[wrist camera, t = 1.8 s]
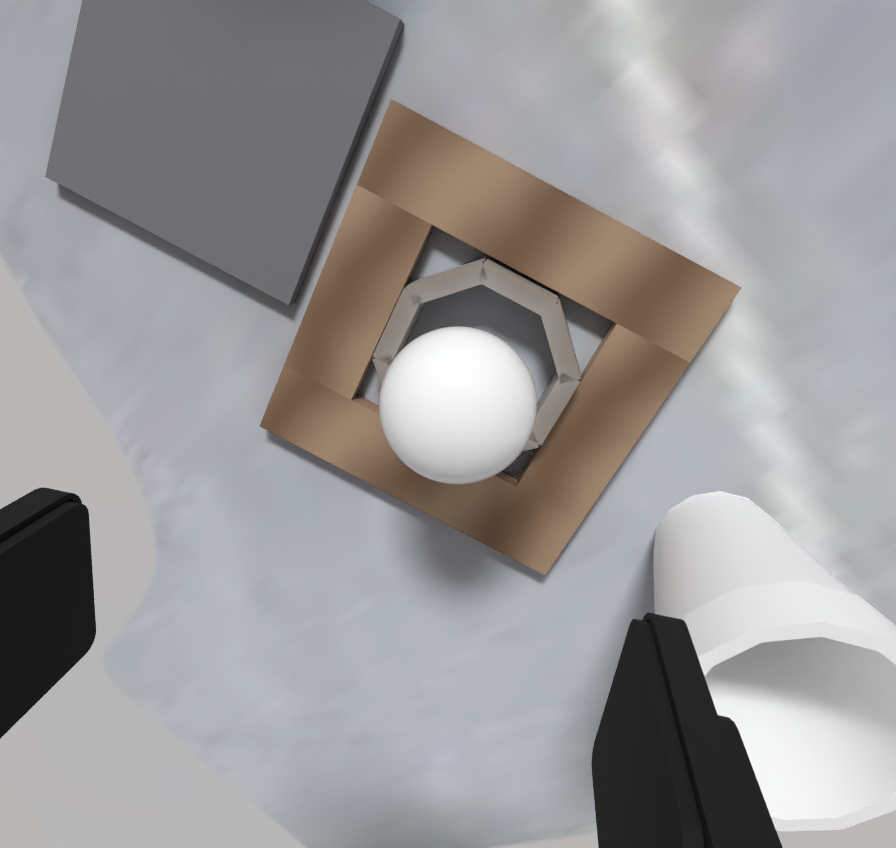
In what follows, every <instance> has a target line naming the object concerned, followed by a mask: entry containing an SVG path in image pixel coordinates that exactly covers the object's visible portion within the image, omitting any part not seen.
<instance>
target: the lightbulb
mask: <svg viewBox="0 0 896 848" xmlns="http://www.w3.org/2000/svg"><path fill="white" fill-rule="evenodd" d="M536 414H537V397H536V390H535V386H534V382H533V379H532V376H531V374H530V372H529V370H528V368H527V366H526V364H525V363H524V361H523V360H522V358H521V357H520V356H519V355H518V353H517V352H516V351H515V350H514V349H513V348H512V347H511V346H510V345H508V344H507V343H506V342H505V341H503V340H502V339H500V338H499V337H497V336H495V335H493V334H491V333H489V332H486V331H483V330H480V329H477V328H472V327H464V326H452V327H444V328H439V329H436V330H433V331H430V332H427V333H425V334H423V335H421V336H419V337H417V338H416V339H414V340H413V341H411V342H410V343H409V344H408V345H406V346H405V347H404V348H403V349H402V350H401V351H400V352H399V353H398V354H397V356H396V357H395V358H394V360H393V361H392V363H391V364H390V366H389V368H388V370H387V372H386V374H385V376H384V379H383V382H382V385H381V389H380V395H379V416H380V422H381V426H382V429H383V432H384V435H385V437H386V439H387V441H388V443H389V445H390V447H391V448H392V450H393V451H394V453H395V454H396V455H397V456H398V458H399V459H400V460H401V461H402V462H403V463H404V464H405V465H407V466H408V467H409V468H410V469H412V470H413V471H415V472H416V473H418V474H419V475H421V476H423V477H425V478H428V479H430V480H433V481H436V482H440V483H445V484H457V485H459V484H470V483H476V482H479V481H483V480H485V479H488V478H490V477H492V476H494V475H496V474H498V473H500V472H501V471H503V470H504V469H505V468H507V467H508V466H509V465H510V464H511V463H512V462H513V461H514V460H515V459H516V458H517V457H518V456H519V455H520V454H521V452H522V451H523V449H524V448H525V446H526V445H527V443H528V441H529V439H530V437H531V434H532V432H533V429H534V425H535V421H536Z"/></svg>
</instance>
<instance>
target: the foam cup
mask: <svg viewBox="0 0 896 848" xmlns="http://www.w3.org/2000/svg"><path fill="white" fill-rule="evenodd" d="M653 553H654V555H653V570H654V603H655V614H658V615H663V616H668V617H672V618H677V619H682V620H684V621H685V623H686V625H687V627H688V630H689V633H690V636H691V639H692V642H693V645H694V647H695V650H696V653H697V656H698V659H699V662H700V665H701V668H702V671H703V674H704V677H705V680H706V682H707V685H708V688H709V691H710V694H711V697H712V700H713V703H714V706H715V709H716V712H717V715H720V716H724V717H729V718H730V719H731V720H732V721H734V722H735V724H736V726H737V728H738V730H739V733H740V735H741V738H742V741H743V743H744V746H745V749H746V751H747V754H748V757H749V759H750V762H751V765H752V767H753V770H754V773H755V776H756V778H757V781H758V784H759V786H760V789H761V792H762V794H763V797H764V800H765V802H766V805H767V808H768V810H769V813H770V816H771V818H772V821H773V824H774V826H775V829H776V830H777V831H780V832H781V831H812V830H842V829H845V828H848V827H850V826H853V825H856V824H858V823H861V822H864V821H867V820H869V819H872V818H875V817H878V816H881V815H883V814H886V813H889V812H892V811H894V810H896V625H894V624H893V623H892V622H891V621H889V620H888V619H887V618H886V617H884V616H883V615H882V614H881V613H879V612H878V611H877V610H876V609H874V608H873V607H872V606H871V605H869V604H868V603H867V602H866V601H864V600H863V599H862V598H861V597H859V596H858V595H855V594H854V593H853V592H852V591H851V590H849V589H848V588H847V587H846V586H845V585H844V584H843V583H842V582H841V581H840V580H839V579H838V578H836V577H835V576H834V575H833V574H832V573H831V572H830V571H829V570H828V569H827V568H826V567H825V566H824V565H822V564H821V563H820V562H819V561H818V560H817V559H816V558H815V557H814V556H813V555H812V554H811V553H809V552H808V551H807V550H806V549H805V548H804V547H803V546H802V545H801V544H800V543H799V542H798V541H797V540H795V539H794V538H793V537H792V536H791V535H790V534H789V533H788V532H787V531H786V530H785V529H784V528H783V527H781V526H780V525H779V524H778V523H777V522H776V521H775V520H774V519H773V518H772V517H770V516H769V515H768V514H767V513H766V512H764V511H763V510H762V509H761V508H759V507H758V506H757V505H756V504H754V503H753V502H752V501H751V500H749V499H748V498H746V497H742V496H738V495H734V494H730V493H726V492H722V491H718V492H712V493H705V494H698V495H692V496H691V497H689V498H687V499H686V500H684V501H682V502H680V503H679V504H677V505H675V506H674V507H672V508H670V509H669V510H668V512H667V513H666V515H665V516H664V518H663V519H662V521H661V522H660V523H659V525H658V526H657V528H656V529H655V539H654V549H653Z"/></svg>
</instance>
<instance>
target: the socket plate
mask: <svg viewBox="0 0 896 848" xmlns="http://www.w3.org/2000/svg"><path fill="white" fill-rule="evenodd" d="M434 226H435V227H437V228H439V229H441V230H443V231H445V232H447V233H448V234H450V235H452V236H454V237H456V238H458V239H460V240H462V241H463V242H465V243H467V244H469V245H471V246H473V247H475V248H477V249H478V250H480V251H482V252H484V253H486V254H488V255H490V256H491V257H493V258H495V259H497V260H499V261H501V262H503V263H505V264H506V265H508V266H510V267H512V268H514V269H516V270H518V271H520V272H521V273H523V274H525V275H527V276H529V277H531V278H533V279H534V280H536V281H538V282H540V283H542V284H544V285H546V286H548V287H549V288H551V289H553V290H555V291H557V292H559V293H561V294H563V295H564V296H566V297H568V298H570V299H572V300H574V301H576V302H578V303H579V304H581V305H583V306H585V307H587V308H589V309H591V310H592V311H594V312H596V313H598V314H600V315H602V316H604V317H606V318H607V319H609V320H611V321H613V324H612V325H611V327H610V329H609V330H608V332H607V334H606V335H605V337H604V339H603V340H602V342H601V343H600V345H599V347H598V348H597V350H596V352H595V353H594V355H593V356H592V358H591V360H590V361H589V363H588V365H587V366H586V368H585V370H584V371H583V373H582V374H581V376H580V369H579V365H578V362H577V358H576V354H575V351H574V347H573V343H572V340H571V336H570V332H569V329H568V325H567V322H566V318H565V314H564V311H563V307H562V303H561V300H560V296H559V297H558V294H557V293H555V292H553V291H551V290H550V289H548V288H546V287H544V286H542V285H540V284H538V283H536V282H535V281H533V280H531V279H529V278H527V277H525V276H523V275H522V274H520V273H518V272H516V271H514V270H512V269H510V268H508V267H507V266H505V265H503V264H501V263H499V262H497V261H495V260H493V259H492V258H490V257H489V258H488V259H487V258H486V257H485V258H482V259H479V260H476V261H473V262H470V263H467V264H464V265H461V266H458V267H455V268H452V269H449V270H446V271H443V272H440V273H437V274H434V275H431V276H427V277H424V278H421V279H418V280H415V281H413V282H412V283H410V284H409V285H407V284H408V282H409V280H410V278H411V276H412V273H413V271H414V269H415V267H416V265H417V263H418V260H419V258H420V256H421V254H422V252H423V250H424V247H425V245H426V243H427V241H428V239H429V237H430V234H431V232H432V230H433V228H434ZM481 284H482V285H484V286H486V287H488V288H490V289H492V290H494V291H496V292H497V293H499V294H501V295H503V296H505V297H507V298H509V299H511V300H512V301H514V302H516V303H518V304H520V305H522V306H524V307H526V308H527V309H529V310H531V311H533V312H535V313H537V314H539V315H541V318H542V321H543V325H544V328H545V332H546V335H547V339H548V342H549V346H550V349H551V353H552V356H553V360H554V363H555V367H556V370H557V371H556V372H555V374H554V376H553V378H552V379H551V381H550V383H549V384H548V386H547V388H546V389H545V391H544V393H543V394H542V396H541V398H540V399H539V401H538V403H537V414H536V421H535V425H534V429H533V432H532V434H531V437H530V439H529V441H528V443H527V445H526V446H525V448H524V449H523V451H526V450H530V449H534V448H536V450H535V451H534V453H533V454H532V456H531V458H530V459H529V461H528V463H527V464H526V466H525V467H524V469H523V471H522V472H521V474H520V476H519V477H518V479H516V478H514V477H512V476H510V475H509V474H507V473H505V472H503V471H501V472H500V473H498V474H496V475H494V476H492V477H490V478H488V479H485V480H483V481H479V482H476V483H470V484H459V485H457V484H445V483H440V482H436V481H433V480H430V479H428V478H425V477H423V476H421V475H419V474H418V473H416V472H415V471H413V470H412V469H410V468H409V467H408V466H407V465H405V464H404V463H403V462H402V461H401V460H400V459H399V458H398V456H397V455H396V454H395V453H394V451H393V450H392V448H391V447H390V445H389V443H388V441H387V439H386V437H385V435H384V432H383V429H382V426H381V422H380V416H379V406H377V405H376V404H374V403H372V402H370V401H368V400H366V399H364V398H362V397H360V396H358V395H357V392H358V390H359V388H360V386H361V384H362V381H363V379H364V377H365V375H366V373H367V371H368V369H369V366H370V364H371V362H372V360H373V363H374V365H375V368H376V371H377V373H378V376H379V379H380V382H381V384H382V382H383V379H384V376H385V374H386V372H387V370H388V368H389V366H390V364H391V363H392V361H393V360H394V358H395V357H396V356H397V354H398V353H399V352H400V351H401V350H402V349H403V347H404V345H405V343H406V341H407V339H408V337H409V335H410V333H411V330H412V328H413V326H414V324H415V322H416V320H417V318H418V316H419V314H420V312H421V310H422V308H423V305H424V303H425V302H427V301H431V300H434V299H437V298H440V297H443V296H446V295H449V294H452V293H456V292H459V291H462V290H465V289H468V288H471V287H474V286H477V285H481ZM740 289H741V287H739V286H737V285H735V284H733V283H732V282H730V281H728V280H726V279H724V278H722V277H720V276H719V275H717V274H715V273H713V272H711V271H709V270H707V269H706V268H704V267H702V266H700V265H698V264H696V263H694V262H693V261H691V260H689V259H687V258H685V257H683V256H681V255H680V254H678V253H676V252H674V251H672V250H670V249H668V248H667V247H665V246H663V245H661V244H659V243H657V242H655V241H654V240H652V239H650V238H648V237H646V236H644V235H642V234H641V233H639V232H637V231H635V230H633V229H631V228H629V227H628V226H626V225H624V224H622V223H620V222H618V221H616V220H615V219H613V218H611V217H609V216H607V215H605V214H603V213H602V212H600V211H598V210H596V209H594V208H592V207H590V206H589V205H587V204H585V203H583V202H581V201H579V200H577V199H576V198H574V197H572V196H570V195H568V194H566V193H564V192H563V191H561V190H559V189H557V188H555V187H553V186H551V185H550V184H548V183H546V182H544V181H542V180H540V179H538V178H537V177H535V176H533V175H531V174H529V173H527V172H525V171H524V170H522V169H520V168H518V167H516V166H514V165H513V164H511V163H509V162H507V161H505V160H503V159H501V158H500V157H498V156H496V155H494V154H492V153H490V152H488V151H487V150H485V149H483V148H481V147H479V146H477V145H475V144H474V143H472V142H470V141H468V140H466V139H464V138H462V137H461V136H459V135H457V134H455V133H453V132H451V131H449V130H448V129H446V128H444V127H442V126H440V125H438V124H436V123H435V122H433V121H431V120H429V119H427V118H425V117H423V116H422V115H420V114H418V113H416V112H414V111H412V110H410V109H409V108H407V107H405V106H403V105H401V104H399V103H397V102H396V101H394V100H392V99H391V101H390V104H389V106H388V109H387V111H386V114H385V116H384V119H383V121H382V124H381V126H380V129H379V131H378V134H377V136H376V139H375V141H374V144H373V146H372V149H371V151H370V154H369V156H368V159H367V161H366V163H365V166H364V168H363V171H362V173H361V176H360V178H359V181H358V183H357V186H356V188H355V191H354V193H353V196H352V198H351V201H350V203H349V206H348V208H347V211H346V213H345V216H344V218H343V221H342V223H341V225H340V228H339V230H338V233H337V235H336V238H335V240H334V243H333V245H332V248H331V250H330V253H329V255H328V258H327V260H326V263H325V265H324V268H323V270H322V273H321V275H320V278H319V280H318V283H317V285H316V288H315V290H314V292H313V295H312V297H311V300H310V302H309V305H308V307H307V310H306V312H305V315H304V317H303V320H302V322H301V325H300V327H299V330H298V332H297V335H296V337H295V340H294V342H293V345H292V347H291V350H290V352H289V354H288V357H287V359H286V362H285V364H284V367H283V369H282V372H281V374H280V377H279V379H278V382H277V384H276V387H275V389H274V392H273V394H272V397H271V399H270V402H269V404H268V407H267V409H266V412H265V414H264V417H263V419H262V421H261V424H260V427H262V428H264V429H266V430H268V431H270V432H272V433H273V434H275V435H277V436H279V437H281V438H283V439H285V440H287V441H289V442H291V443H293V444H294V445H296V446H298V447H300V448H302V449H304V450H306V451H308V452H310V453H312V454H314V455H316V456H317V457H319V458H321V459H323V460H325V461H327V462H329V463H331V464H333V465H335V466H337V467H338V468H340V469H342V470H344V471H346V472H348V473H350V474H352V475H354V476H356V477H358V478H359V479H361V480H363V481H365V482H367V483H369V484H371V485H373V486H375V487H377V488H379V489H380V490H382V491H384V492H386V493H388V494H390V495H392V496H394V497H396V498H398V499H400V500H402V501H403V502H405V503H407V504H409V505H411V506H413V507H415V508H417V509H419V510H421V511H423V512H424V513H426V514H428V515H430V516H432V517H434V518H436V519H438V520H440V521H442V522H444V523H445V524H447V525H449V526H451V527H453V528H455V529H457V530H459V531H461V532H463V533H465V534H466V535H468V536H470V537H472V538H474V539H476V540H478V541H480V542H482V543H484V544H486V545H488V546H489V547H491V548H493V549H495V550H497V551H499V552H501V553H503V554H505V555H507V556H509V557H510V558H512V559H514V560H516V561H518V562H520V563H522V564H524V565H526V566H528V567H530V568H531V569H533V570H535V571H537V572H539V573H541V574H543V575H546V573H547V572H548V570H549V569H550V567H551V566H552V565H553V563H554V562H555V560H556V559H557V557H558V556H559V554H560V553H561V551H562V550H563V548H564V547H565V545H566V544H567V543H568V541H569V540H570V538H571V537H572V535H573V534H574V532H575V531H576V529H577V528H578V526H579V525H580V524H581V522H582V521H583V519H584V518H585V516H586V515H587V513H588V512H589V510H590V509H591V507H592V506H593V504H594V503H595V502H596V500H597V499H598V497H599V496H600V494H601V493H602V491H603V490H604V488H605V487H606V485H607V484H608V482H609V481H610V480H611V478H612V477H613V475H614V474H615V472H616V471H617V469H618V468H619V466H620V465H621V463H622V462H623V461H624V459H625V458H626V456H627V455H628V453H629V452H630V450H631V449H632V447H633V446H634V444H635V443H636V441H637V440H638V439H639V437H640V436H641V434H642V433H643V431H644V430H645V428H646V427H647V425H648V424H649V422H650V421H651V420H652V418H653V417H654V415H655V414H656V412H657V411H658V409H659V408H660V406H661V405H662V403H663V402H664V400H665V399H666V398H667V396H668V395H669V393H670V392H671V390H672V389H673V387H674V386H675V384H676V383H677V381H678V380H679V379H680V377H681V376H682V374H683V373H684V371H685V370H686V368H687V367H688V365H689V364H690V362H691V361H692V359H693V358H694V357H695V355H696V354H697V352H698V351H699V349H700V348H701V346H702V345H703V343H704V342H705V340H706V339H707V338H708V336H709V335H710V333H711V332H712V330H713V329H714V327H715V326H716V324H717V323H718V321H719V320H720V318H721V317H722V316H723V314H724V313H725V311H726V310H727V308H728V307H729V305H730V304H731V302H732V301H733V299H734V298H735V297H736V295H737V294H738V292H739V291H740Z"/></svg>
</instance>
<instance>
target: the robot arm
mask: <svg viewBox="0 0 896 848" xmlns="http://www.w3.org/2000/svg"><path fill="white" fill-rule="evenodd" d="M95 634H96V623H95V607H94V591H93V575H92V559H91V543H90V527H89V513H88V509H87V507H86V506H85V505H83V504H82V502H81V499H80V498H79V496H77V495H76V494H73V493H68V492H63V491H58V490H54V489H49V488H38V489H36V490H34V491H32V492H30V493H28V494H26V495H25V496H23V497H21V498H19V499H18V500H16V501H14V502H12V503H11V504H9V505H7V506H5V507H4V508H2V509H0V738H1V737H2V736H3V735H4V734H5V733H6V732H7V731H8V730H9V729H10V728H11V727H12V726H13V725H14V724H15V723H16V722H17V721H18V720H19V719H20V718H21V717H22V716H23V715H24V714H26V713H27V712H28V710H30V708H32V706H33V705H35V703H37V702H38V701H39V700H40V699H41V698H42V697H43V695H44V694H46V693H47V692H48V691H49V690H50V689H51V687H52V686H54V685H55V684H56V683H57V682H58V681H59V680H60V679H61V678H62V677H63V676H64V675H65V674H66V673H67V672H68V671H69V670H70V669H71V668H72V667H73V666H74V665H75V664H76V663H77V662H78V661H79V660H80V659H81V658H82V657H83V656H84V655H85V654H86V653H87V652H88V650H89V649H90V647H91V645H92V644H93V641H94V639H95ZM592 777H593V788H594V799H595V811H596V822H597V833H598V844H599V848H782V845H781V843H780V840H779V838H778V835H777V832H776V829H775V826H774V824H773V821H772V818H771V816H770V813H769V810H768V808H767V805H766V802H765V800H764V797H763V794H762V792H761V789H760V786H759V784H758V781H757V778H756V776H755V773H754V770H753V767H752V765H751V762H750V759H749V757H748V754H747V751H746V749H745V746H744V743H743V741H742V738H741V735H740V733H739V730H738V728H737V726H736V724H735V722H734V721H732V720H731V719H730V718H729V717H724V716H720V715H717V712H716V709H715V706H714V703H713V700H712V697H711V694H710V691H709V688H708V685H707V682H706V680H705V677H704V674H703V671H702V668H701V665H700V662H699V659H698V656H697V653H696V650H695V647H694V645H693V642H692V639H691V636H690V633H689V630H688V627H687V625H686V623H685V621H684V620H682V619H677V618H672V617H668V616H663V615H658V614H653V613H647V614H646V615H645V616H644V618H643V621H642V620H637V619H633V620H632V622H631V623H630V626H629V629H628V633H627V636H626V639H625V643H624V646H623V649H622V653H621V656H620V659H619V663H618V666H617V669H616V672H615V676H614V679H613V682H612V686H611V689H610V692H609V696H608V699H607V702H606V706H605V709H604V712H603V716H602V719H601V722H600V726H599V729H598V732H597V736H596V739H595V742H594V747H593V753H592Z"/></svg>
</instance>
